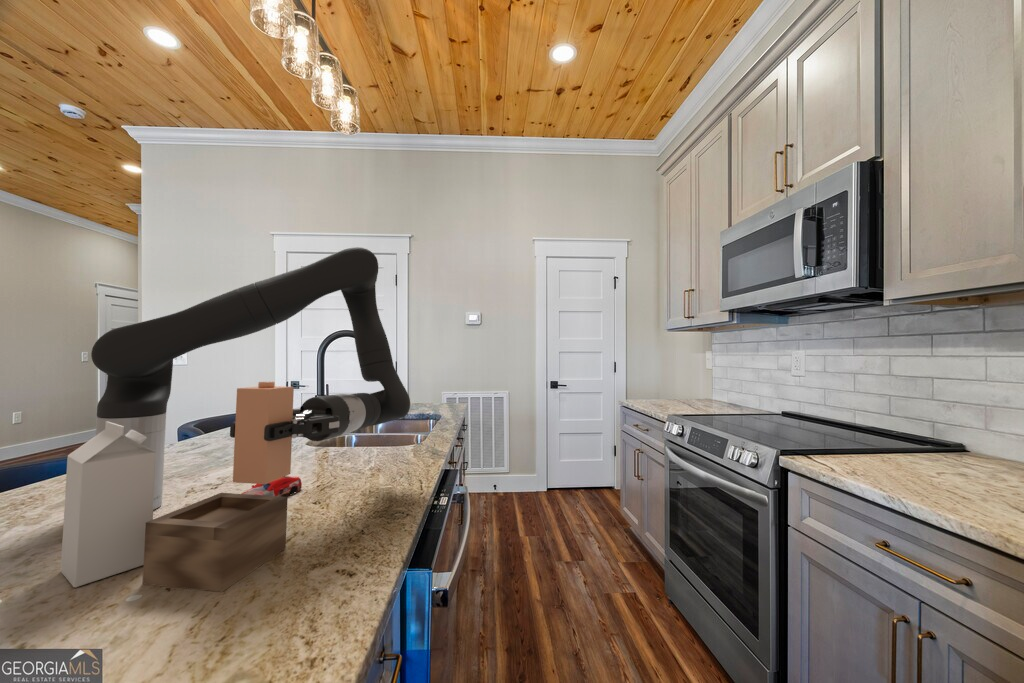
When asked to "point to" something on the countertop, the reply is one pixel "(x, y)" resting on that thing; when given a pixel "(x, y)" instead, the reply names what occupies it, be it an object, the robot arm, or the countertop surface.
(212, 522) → the wooden box
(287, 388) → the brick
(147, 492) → the milk carton
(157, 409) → the robot arm
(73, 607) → the countertop surface
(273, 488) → the race car
